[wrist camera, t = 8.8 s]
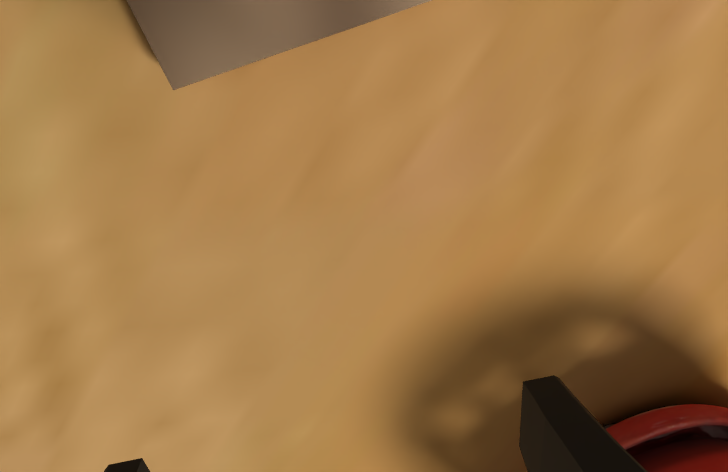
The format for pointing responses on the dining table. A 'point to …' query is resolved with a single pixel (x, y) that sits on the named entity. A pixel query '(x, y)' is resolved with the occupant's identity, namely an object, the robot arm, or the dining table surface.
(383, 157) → the dining table surface
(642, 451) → the plant pot
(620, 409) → the dining table surface
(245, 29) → the socket board
